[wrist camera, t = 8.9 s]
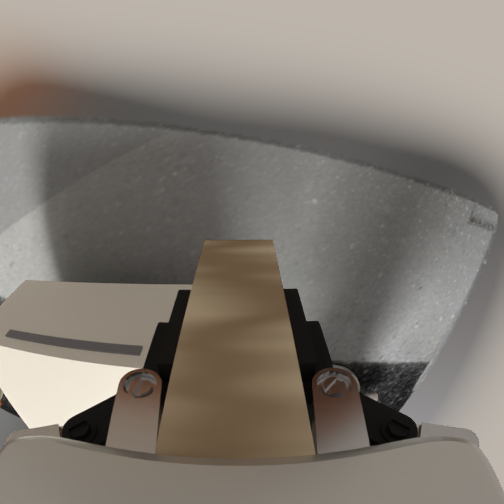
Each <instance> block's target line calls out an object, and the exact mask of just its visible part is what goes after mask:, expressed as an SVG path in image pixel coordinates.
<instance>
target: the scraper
mask: <svg viewBox="0 0 504 504" xmlns="http://www.w3.org/2000/svg"><path fill="white" fill-rule="evenodd" d="M155 454H161V455H170V456H182V457H197V458H221V459H254V458H278V457H293V456H305V455H315V448H314V443H313V437H312V432H311V426H310V421H309V416H308V410H307V405H306V400H305V394H304V389H303V384H302V379H301V374H300V369H299V364H298V359H297V354H296V349H295V344H294V339H293V334H292V329H291V324H290V319H289V314H288V309H287V305H286V300H285V295H284V290H283V286H282V281H281V276H280V272H279V267H278V262H277V258H276V253H275V249H274V244H273V240H204V244H203V247H202V251H201V255H200V258H199V262H198V266H197V270H196V273H195V277H194V281H193V285H192V289H191V292H190V296H189V300H188V304H187V308H186V312H185V316H184V320H183V324H182V329H181V333H180V337H179V341H178V345H177V350H176V354H175V358H174V363H173V367H172V371H171V376H170V380H169V385H168V390H167V394H166V399H165V404H164V409H163V414H162V418H161V423H160V429H159V434H158V439H157V444H156V449H155Z"/></svg>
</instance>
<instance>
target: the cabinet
mask: <svg viewBox="0 0 504 504" xmlns="http://www.w3.org/2000/svg"><path fill="white" fill-rule="evenodd" d="M191 289H192V285H186V284H119V283H84V282H58V281H36V280H25V281H24V282H23V283H22V284H21V285H20V286H19V287H18V288H17V289H16V290H15V291H14V292H13V293H12V294H11V295H10V296H9V297H8V298H7V299H6V300H5V302H4V303H3V304H2V305H1V306H0V388H1V390H2V391H3V393H4V394H5V396H6V397H7V399H8V400H9V402H10V403H11V404H12V406H13V407H14V409H15V410H16V411H17V413H18V414H19V415H20V417H21V418H22V419H23V421H24V422H25V423H26V425H27V426H28V427H29V428H30V429H31V428H37V427H43V426H49V425H54V424H59V425H60V426H64V424H65V423H66V422H67V420H69V419H70V418H71V417H73V416H75V415H77V414H79V413H81V412H83V411H85V410H87V409H89V408H91V407H93V406H95V405H96V404H98V403H100V402H102V401H104V400H106V399H108V398H110V397H112V396H114V395H115V394H116V393H117V389H118V384H119V382H120V380H121V378H122V377H123V376H124V375H125V374H126V373H128V372H130V371H132V370H135V369H142V368H143V366H144V363H145V360H146V357H147V354H148V351H149V348H150V345H151V342H152V339H153V336H154V333H155V330H156V327H157V325H158V323H159V322H169V319H170V316H171V313H172V309H173V306H174V303H175V300H176V297H177V293H178V291H179V290H191Z"/></svg>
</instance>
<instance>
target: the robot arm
mask: <svg viewBox="0 0 504 504" xmlns="http://www.w3.org/2000/svg"><path fill="white" fill-rule="evenodd" d="M283 290H284V295H285V300H286V305H287V309H288V314H289V319H290V324H291V329H292V334H293V339H294V344H295V349H296V354H297V359H298V364H299V369H300V374H301V379H302V384H303V389H304V394H305V400H306V405H307V410H308V416H309V421H310V426H311V432H312V437H313V443H314V448H315V455H305V456H293V457H278V458H254V459H221V458H197V457H182V456H170V455H161V454H155V449H156V444H157V439H158V434H159V429H160V423H161V418H162V414H163V409H164V404H165V399H166V394H167V390H168V385H169V380H170V376H171V371H172V367H173V363H174V358H175V354H176V350H177V345H178V341H179V337H180V333H181V329H182V324H183V320H184V316H185V312H186V308H187V304H188V300H189V296H190V292H191V290H179V291H178V293H177V297H176V300H175V303H174V306H173V309H172V313H171V316H170V319H169V322H159V323H158V325H157V327H156V330H155V333H154V336H153V339H152V342H151V345H150V348H149V351H148V354H147V357H146V360H145V363H144V366H143V368H142V369H135V370H132V371H130V372H128V373H126V374H125V375H124V376H123V377H122V378H121V380H120V382H119V384H118V389H117V393H116V394H115V395H114V396H112V397H110V398H108V399H106V400H104V401H102V402H100V403H98V404H96V405H95V406H93V407H91V408H89V409H87V410H85V411H83V412H81V413H79V414H77V415H75V416H73V417H71V418H70V419H69V420H67V422H66V423H65V424H64V426H60V425H59V424H54V425H49V426H43V427H37V428H31V429H25V430H18V431H15V432H13V433H11V434H10V435H9V436H8V438H7V440H6V443H5V444H4V445H3V446H2V448H1V449H0V504H504V492H503V489H502V487H501V485H500V482H499V480H498V478H497V476H496V474H495V472H494V470H493V468H492V466H491V464H490V463H489V461H488V459H487V458H486V456H485V455H484V453H483V452H482V451H481V449H480V448H479V441H478V437H477V436H476V434H475V433H474V432H472V431H471V430H468V429H464V428H455V427H448V426H442V425H435V424H429V423H421V425H417V424H415V422H414V421H413V420H412V419H411V418H410V417H408V416H406V415H404V414H402V413H400V412H398V411H396V410H394V409H392V408H390V407H388V406H386V405H384V404H382V403H381V402H380V401H379V400H378V395H377V393H376V392H374V393H367V394H362V393H360V384H359V381H358V379H357V376H356V375H355V374H354V373H353V372H352V371H351V370H349V369H347V368H345V367H343V366H338V365H333V364H332V361H331V358H330V355H329V352H328V348H327V345H326V342H325V339H324V336H323V333H322V329H321V326H320V324H319V322H318V321H306V318H305V315H304V311H303V307H302V304H301V300H300V297H299V293H298V290H297V289H283Z"/></svg>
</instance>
